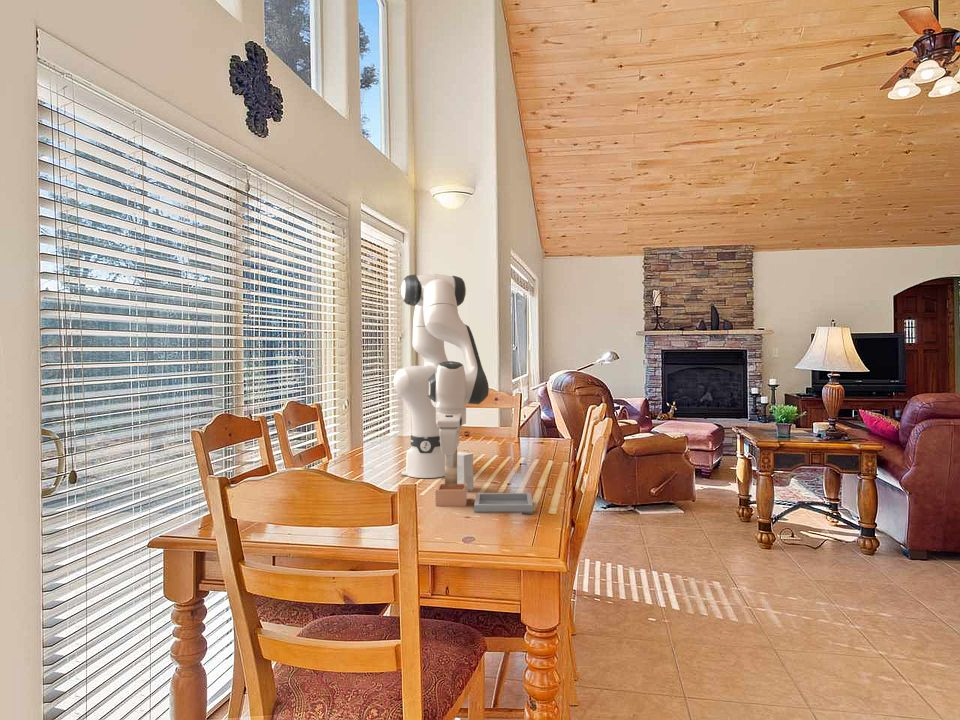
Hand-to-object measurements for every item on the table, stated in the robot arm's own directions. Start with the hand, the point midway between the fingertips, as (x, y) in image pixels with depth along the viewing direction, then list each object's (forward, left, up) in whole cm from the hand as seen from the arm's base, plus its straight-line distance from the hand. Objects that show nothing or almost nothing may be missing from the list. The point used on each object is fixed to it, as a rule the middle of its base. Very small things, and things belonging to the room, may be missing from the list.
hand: (450, 464), depth 184 cm
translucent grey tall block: (0, 0, -6) cm, 6 cm away
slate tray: (+4, +15, -11) cm, 19 cm away
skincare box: (-16, +2, -12) cm, 20 cm away
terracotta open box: (0, 0, -11) cm, 11 cm away
